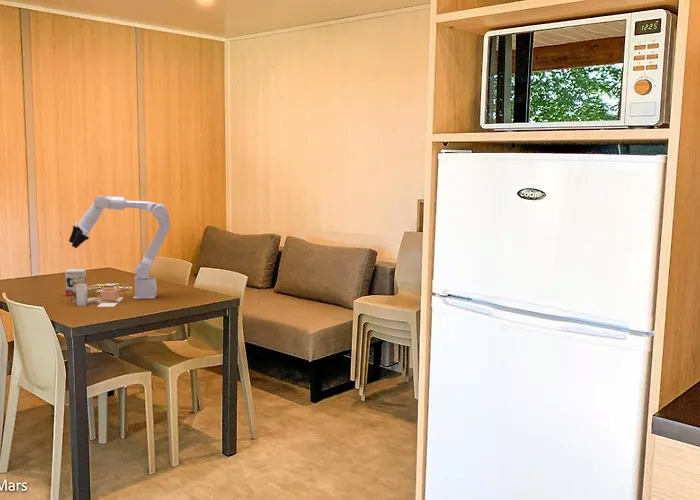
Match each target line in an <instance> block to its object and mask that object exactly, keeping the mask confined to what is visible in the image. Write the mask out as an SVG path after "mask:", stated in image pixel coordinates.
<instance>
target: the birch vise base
mask: <svg viewBox="0 0 700 500" xmlns="http://www.w3.org/2000/svg"><path fill="white" fill-rule="evenodd" d="M74 295H75V296H74V300H72V301H71V302H72V304H75V305H77V298H76V291H75V292H74ZM87 296H88V304H101V303H118V304H120V303H121V302H123V301H124V298H125V297H124V296H119V297H118V298H117V299H116V300H106V301H101V296H99V297H98V296H97V297H89V294H88V291H87Z"/></svg>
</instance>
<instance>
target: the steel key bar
mask: <svg viewBox="0 0 700 500" xmlns="http://www.w3.org/2000/svg"><path fill="white" fill-rule="evenodd" d="M87 292H88V283H87V284H77V285H76V298H77V304H76V307H86V306H87V305H88V304H89V303H88V298H89V295H88V296H87Z"/></svg>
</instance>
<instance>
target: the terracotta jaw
mask: <svg viewBox="0 0 700 500" xmlns="http://www.w3.org/2000/svg"><path fill="white" fill-rule="evenodd" d="M99 294H100V297H101V301H106V300H116V299H117V298H118V297H120V290H119V287H109V288H108V287H107V288H103V289H101V291H100V293H99Z"/></svg>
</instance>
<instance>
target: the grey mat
mask: <svg viewBox="0 0 700 500" xmlns="http://www.w3.org/2000/svg"><path fill="white" fill-rule="evenodd" d="M118 304H119V303H98V305H97V306H96V308H115V307H116V305H118Z"/></svg>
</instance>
